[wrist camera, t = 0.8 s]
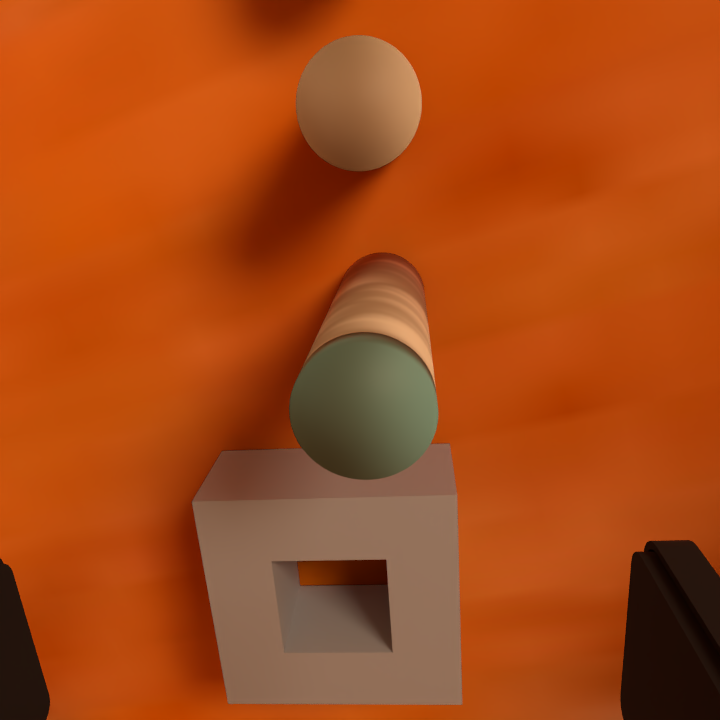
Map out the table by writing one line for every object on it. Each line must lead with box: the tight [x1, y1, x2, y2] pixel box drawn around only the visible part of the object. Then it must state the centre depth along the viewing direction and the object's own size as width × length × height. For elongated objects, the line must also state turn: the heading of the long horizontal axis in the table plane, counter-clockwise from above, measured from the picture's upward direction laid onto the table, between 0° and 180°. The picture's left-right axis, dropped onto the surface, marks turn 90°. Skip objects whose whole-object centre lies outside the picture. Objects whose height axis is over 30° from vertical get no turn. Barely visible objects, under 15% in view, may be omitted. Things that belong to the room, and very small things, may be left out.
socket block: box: [192, 444, 462, 705], centre depth 32 cm, size 12×12×5 cm
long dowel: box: [289, 253, 438, 480], centre depth 23 cm, size 4×4×14 cm
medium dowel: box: [296, 35, 422, 171], centre depth 24 cm, size 4×4×8 cm
